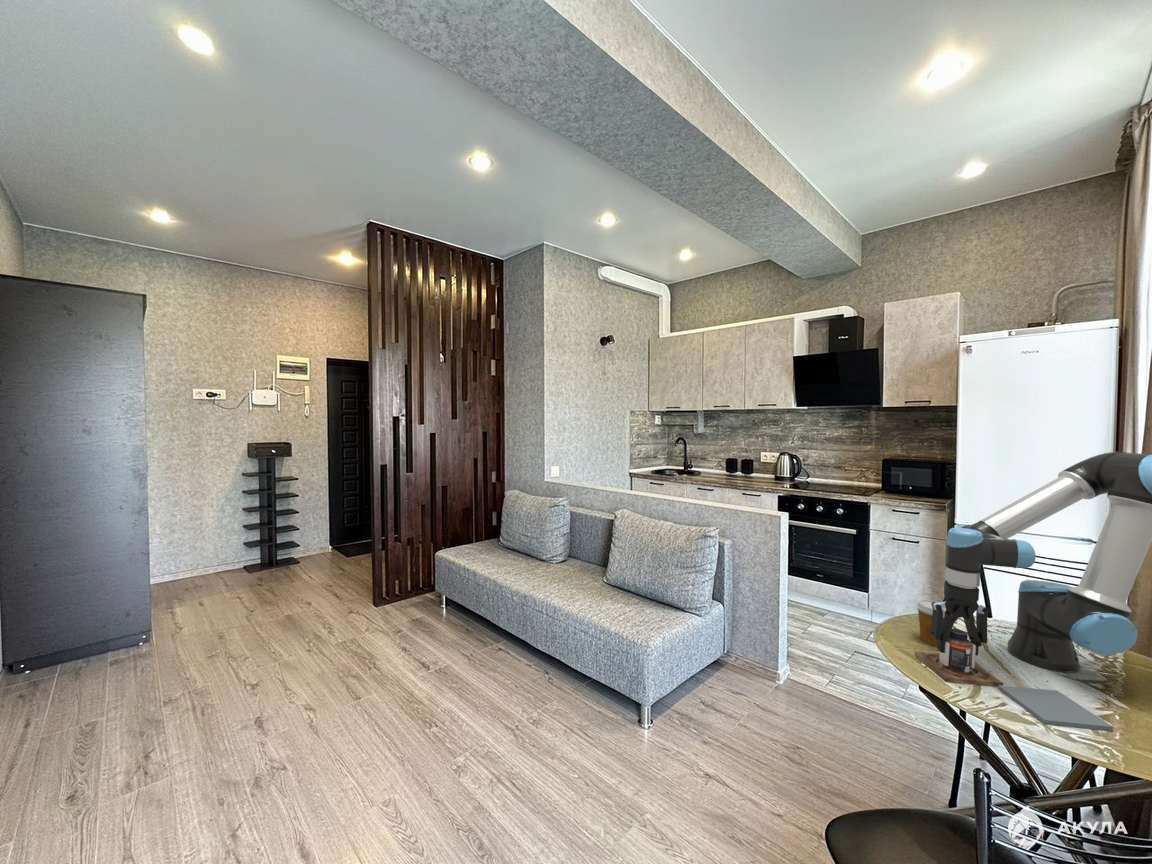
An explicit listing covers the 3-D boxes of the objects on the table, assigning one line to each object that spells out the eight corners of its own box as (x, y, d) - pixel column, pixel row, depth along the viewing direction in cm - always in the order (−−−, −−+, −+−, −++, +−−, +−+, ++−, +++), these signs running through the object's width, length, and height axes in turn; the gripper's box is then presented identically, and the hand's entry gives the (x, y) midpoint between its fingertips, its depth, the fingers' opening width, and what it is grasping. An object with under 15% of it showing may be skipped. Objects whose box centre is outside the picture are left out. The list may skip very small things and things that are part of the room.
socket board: (965, 659, 136) (966, 655, 136) (1003, 687, 122) (1003, 683, 122) (914, 655, 138) (914, 651, 138) (945, 682, 124) (946, 677, 124)
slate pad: (1057, 694, 119) (1057, 690, 119) (1112, 731, 106) (1113, 726, 106) (997, 688, 121) (998, 685, 121) (1044, 724, 107) (1044, 720, 107)
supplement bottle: (975, 677, 126) (977, 637, 126) (950, 674, 127) (953, 634, 127) (961, 666, 132) (964, 627, 132) (938, 663, 133) (940, 625, 133)
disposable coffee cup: (960, 650, 141) (962, 612, 141) (929, 649, 141) (931, 611, 141) (936, 635, 151) (938, 599, 150) (907, 634, 151) (909, 598, 150)
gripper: (988, 581, 131) (983, 660, 132) (916, 576, 134) (912, 654, 135) (1009, 591, 124) (1004, 675, 125) (933, 586, 126) (928, 668, 127)
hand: (956, 664), depth 130 cm, fingers closed on supplement bottle, 6 cm apart
